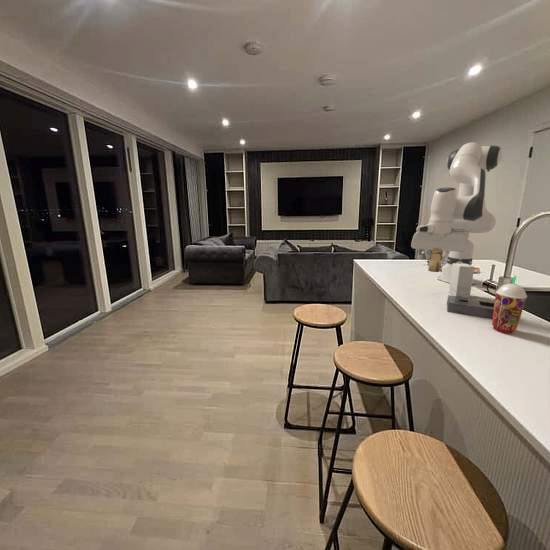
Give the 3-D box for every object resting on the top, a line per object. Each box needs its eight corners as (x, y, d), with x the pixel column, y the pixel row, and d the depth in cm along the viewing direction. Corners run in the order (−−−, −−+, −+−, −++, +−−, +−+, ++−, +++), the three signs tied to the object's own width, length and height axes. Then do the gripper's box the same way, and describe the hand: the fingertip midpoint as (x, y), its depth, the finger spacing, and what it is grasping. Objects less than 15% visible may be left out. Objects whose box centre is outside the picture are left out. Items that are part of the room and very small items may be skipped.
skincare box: (469, 299, 132) (475, 266, 128) (454, 298, 134) (459, 266, 130) (462, 293, 140) (467, 263, 136) (447, 292, 142) (452, 262, 138)
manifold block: (446, 303, 126) (448, 295, 125) (502, 312, 117) (504, 302, 116) (447, 311, 117) (448, 302, 116) (507, 321, 107) (510, 311, 106)
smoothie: (510, 337, 95) (524, 280, 90) (483, 328, 102) (494, 274, 97) (523, 332, 98) (536, 277, 93) (496, 323, 106) (507, 272, 100)
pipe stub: (428, 269, 125) (431, 246, 123) (439, 270, 123) (443, 247, 120) (427, 271, 121) (430, 248, 119) (439, 272, 119) (443, 249, 117)
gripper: (469, 228, 115) (463, 261, 119) (414, 226, 125) (410, 256, 128) (470, 229, 110) (464, 264, 113) (412, 227, 120) (409, 259, 123)
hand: (435, 260), depth 121 cm, fingers closed on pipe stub, 4 cm apart
